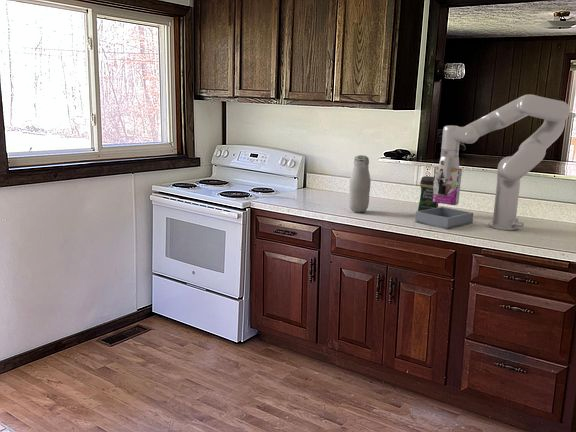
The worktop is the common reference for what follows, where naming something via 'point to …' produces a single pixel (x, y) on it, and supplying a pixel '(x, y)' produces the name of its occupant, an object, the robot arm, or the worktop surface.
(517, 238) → the worktop surface
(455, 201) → the candy bar box
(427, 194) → the coffee jar
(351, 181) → the grey bottle
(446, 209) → the tray
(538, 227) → the worktop surface
